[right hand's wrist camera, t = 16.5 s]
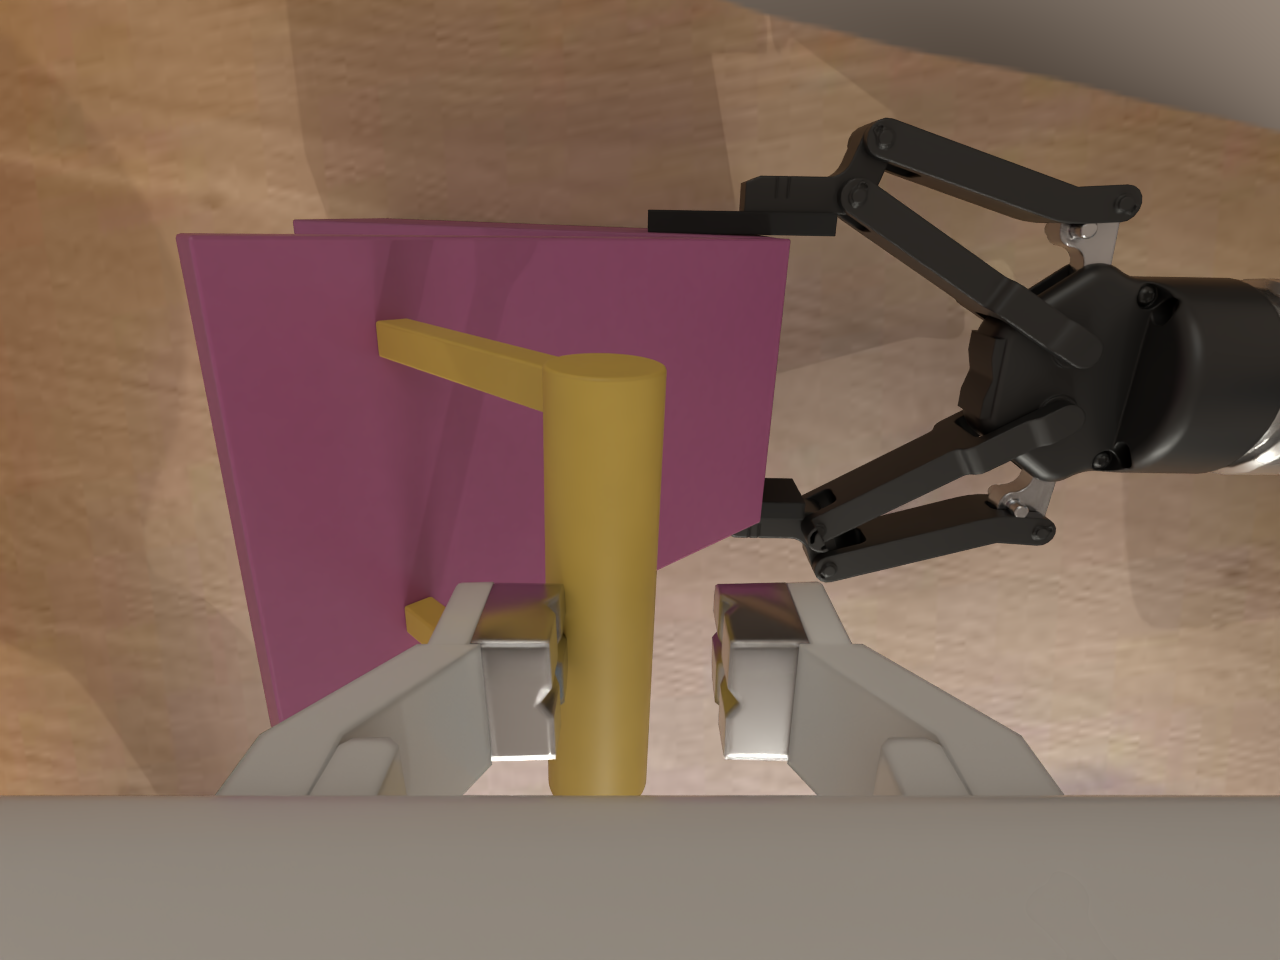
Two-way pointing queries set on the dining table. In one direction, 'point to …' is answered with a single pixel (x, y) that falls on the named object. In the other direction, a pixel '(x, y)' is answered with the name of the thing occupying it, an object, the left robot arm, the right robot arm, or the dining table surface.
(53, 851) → the right robot arm
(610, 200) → the dining table surface
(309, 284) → the lid
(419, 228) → the chest
